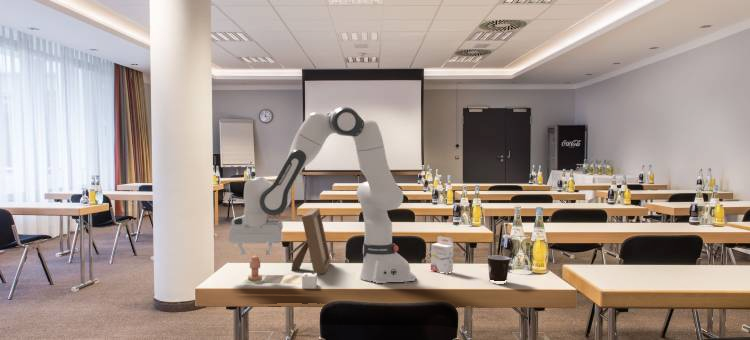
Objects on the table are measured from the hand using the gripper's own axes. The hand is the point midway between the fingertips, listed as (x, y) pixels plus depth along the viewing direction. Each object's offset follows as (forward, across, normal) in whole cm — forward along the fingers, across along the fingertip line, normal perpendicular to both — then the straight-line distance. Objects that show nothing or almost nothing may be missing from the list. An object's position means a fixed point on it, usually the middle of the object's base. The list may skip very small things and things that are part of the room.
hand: (255, 254), depth 194 cm
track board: (+10, -7, 0) cm, 12 cm away
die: (+10, -22, +10) cm, 26 cm away
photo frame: (+11, -20, -19) cm, 29 cm away
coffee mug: (+12, -95, +2) cm, 95 cm away
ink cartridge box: (+12, -76, -16) cm, 78 cm away
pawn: (+10, 0, 0) cm, 10 cm away
